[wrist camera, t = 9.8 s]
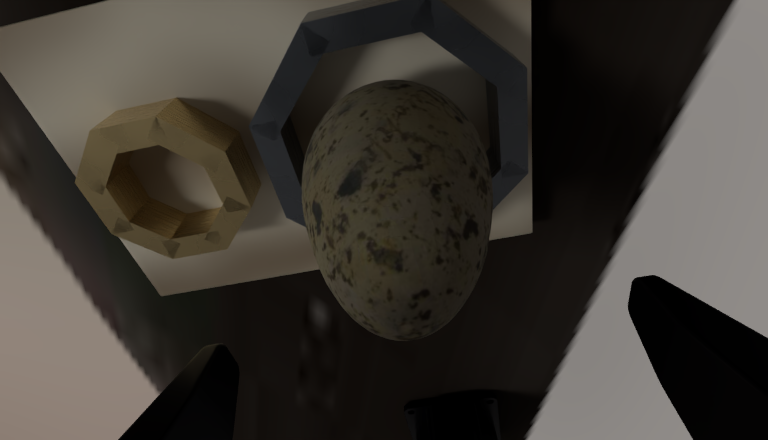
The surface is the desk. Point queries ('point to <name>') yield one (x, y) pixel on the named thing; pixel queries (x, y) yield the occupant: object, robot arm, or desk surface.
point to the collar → (376, 23)
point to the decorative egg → (398, 206)
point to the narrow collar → (149, 216)
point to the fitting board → (233, 103)
